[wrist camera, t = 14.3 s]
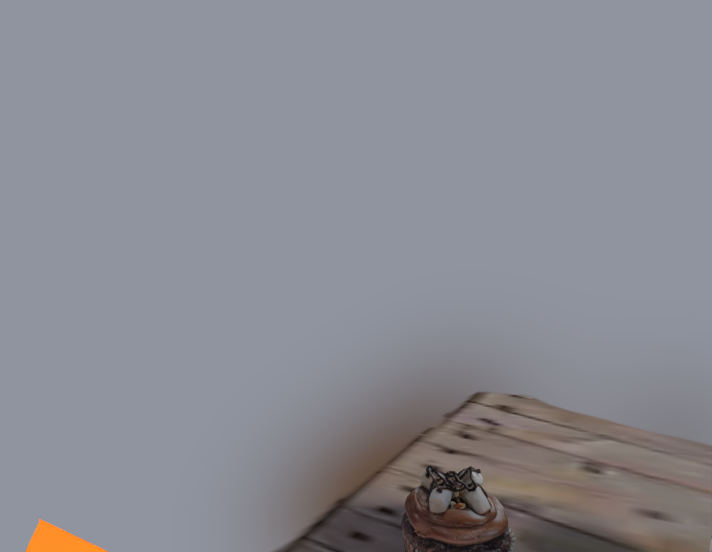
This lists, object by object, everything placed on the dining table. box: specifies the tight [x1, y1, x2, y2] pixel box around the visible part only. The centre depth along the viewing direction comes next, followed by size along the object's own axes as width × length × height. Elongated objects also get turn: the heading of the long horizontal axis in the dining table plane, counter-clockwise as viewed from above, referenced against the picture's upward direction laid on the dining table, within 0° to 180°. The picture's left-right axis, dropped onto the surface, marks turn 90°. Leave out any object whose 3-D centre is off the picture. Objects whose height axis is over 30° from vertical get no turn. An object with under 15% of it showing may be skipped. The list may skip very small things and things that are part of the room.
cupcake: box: [401, 466, 516, 552], centre depth 58 cm, size 10×10×10 cm
